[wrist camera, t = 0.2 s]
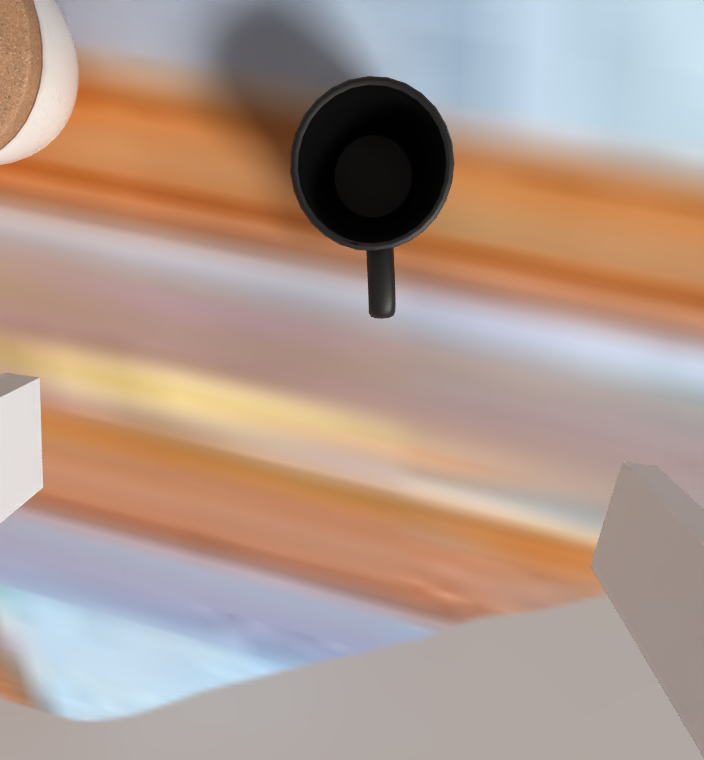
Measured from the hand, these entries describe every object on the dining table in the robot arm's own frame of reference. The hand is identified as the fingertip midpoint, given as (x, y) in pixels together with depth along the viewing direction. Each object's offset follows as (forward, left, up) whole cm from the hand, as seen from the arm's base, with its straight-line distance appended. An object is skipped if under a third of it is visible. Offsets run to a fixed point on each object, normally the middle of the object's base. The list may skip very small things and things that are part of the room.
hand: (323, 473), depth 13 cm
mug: (-6, 0, -28) cm, 29 cm away
